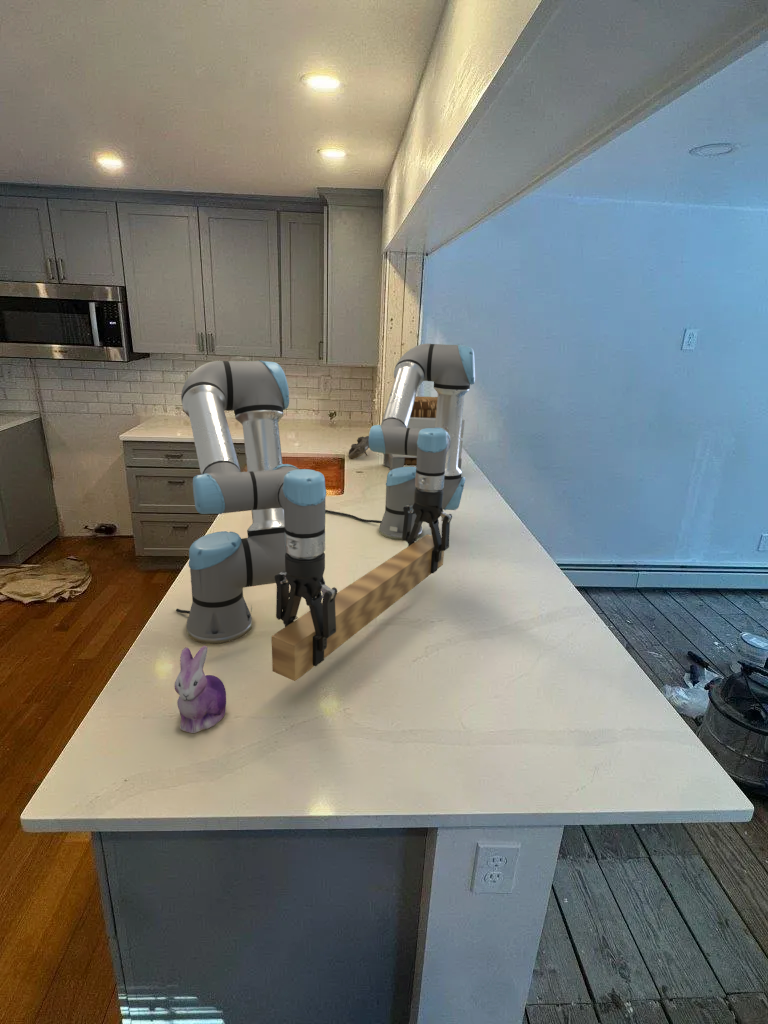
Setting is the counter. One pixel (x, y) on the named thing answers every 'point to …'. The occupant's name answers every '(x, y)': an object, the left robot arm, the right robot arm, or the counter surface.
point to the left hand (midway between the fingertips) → (305, 657)
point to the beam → (353, 608)
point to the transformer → (419, 419)
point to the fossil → (359, 447)
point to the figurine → (198, 693)
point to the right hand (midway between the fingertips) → (423, 568)
